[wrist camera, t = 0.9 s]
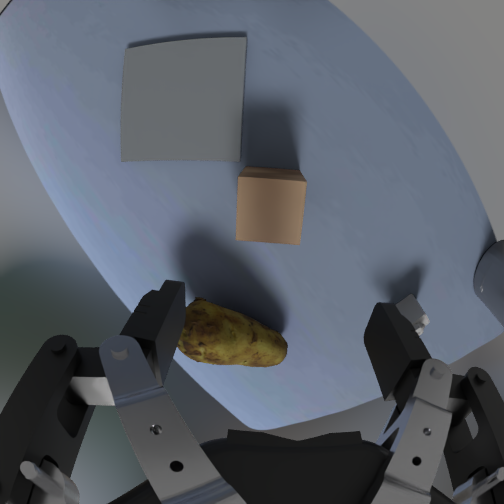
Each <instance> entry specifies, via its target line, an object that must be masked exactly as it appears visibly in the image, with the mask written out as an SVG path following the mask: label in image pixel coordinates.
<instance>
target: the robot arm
mask: <svg viewBox="0 0 504 504" xmlns="http://www.w3.org/2000/svg"><path fill="white" fill-rule="evenodd" d="M474 290H475V293H476V295H477V296H478V297H479V299H480V300H481V301H482V302H483V303H484V304H485V305H486V306H487V308H488V309H489V310H490V311H491V313H492V314H493V315H494V316H495V317H496V318H497V320H498V321H499V322H500V323H501V325H502V326H503V327H504V240H501V241H498V242H496V243H495V244H494V245H492V246H491V247H490V248H489V249H488V250H487V251H486V253H485V254H484V256H483V257H482V259H481V261H480V262H479V265H478V267H477V270H476V273H475V277H474ZM185 317H186V306H185V283H184V282H180V281H172V280H165V282H164V283H163V285H162V287H161V289H160V290H159V291H157V290H151V291H150V292H148V293H147V294H145V295H144V296H143V297H142V299H141V300H140V302H139V303H138V306H137V307H136V308H135V310H134V312H133V313H132V315H131V316H130V318H129V320H128V321H127V323H126V325H125V326H124V328H123V330H122V331H121V333H120V335H117V336H113V337H110V338H108V339H107V340H105V341H104V342H103V343H102V344H101V346H100V347H95V348H90V347H85V348H83V347H78V346H77V343H76V341H75V340H74V339H73V338H72V337H70V336H68V335H57V336H53V337H51V338H49V339H48V340H47V341H46V342H45V343H44V344H43V346H42V347H41V349H40V350H39V352H38V353H37V354H36V356H35V357H34V359H33V361H32V362H31V363H30V365H29V367H28V368H27V370H26V371H25V373H24V374H23V376H22V378H21V379H20V381H19V383H18V384H17V386H16V388H15V389H14V391H13V393H12V394H11V396H10V398H9V400H8V402H7V403H6V405H5V407H4V408H3V411H2V412H1V414H0V504H79V491H78V488H77V486H76V484H75V483H74V482H73V481H72V480H71V479H70V477H71V474H72V470H73V467H74V464H75V461H76V458H77V455H78V452H79V449H80V446H81V444H82V441H83V438H84V435H85V432H86V430H87V427H88V424H89V422H90V419H91V417H92V414H93V411H94V409H95V407H96V405H115V406H116V409H117V412H118V414H119V417H120V419H121V422H122V424H123V427H124V429H125V432H126V434H127V436H128V439H129V441H130V443H131V445H132V447H133V450H134V452H135V454H136V456H137V458H138V460H139V462H140V464H141V466H142V468H143V470H144V472H145V474H146V476H147V478H148V479H147V480H146V481H144V482H143V483H141V484H139V485H138V486H136V487H135V488H133V489H132V490H130V491H128V492H127V493H125V494H123V495H122V496H120V497H118V498H117V499H115V500H113V501H112V502H110V503H108V504H504V402H503V400H502V398H501V396H500V394H499V392H498V390H497V388H496V387H495V385H494V383H493V381H492V379H491V377H490V376H489V374H488V373H487V372H486V371H484V370H483V369H481V368H478V367H472V368H470V369H469V370H468V372H467V373H466V375H465V376H461V375H455V374H452V371H451V369H450V368H449V367H448V365H447V364H445V363H444V362H442V361H440V360H438V359H432V358H431V356H430V354H429V352H428V350H427V349H426V347H425V345H424V343H423V342H422V340H421V338H419V335H418V333H417V332H416V330H415V328H414V326H413V325H412V323H411V322H410V321H409V320H408V319H407V318H406V317H405V316H403V315H401V313H400V312H399V310H398V308H397V307H396V305H395V304H394V303H381V302H378V303H377V304H376V305H375V307H374V309H373V312H372V315H371V317H370V320H369V322H368V325H367V327H366V329H365V333H364V344H365V347H366V350H367V352H368V355H369V358H370V360H371V363H372V366H373V369H374V371H375V374H376V377H377V380H378V383H379V386H380V389H381V392H382V395H383V398H384V401H391V400H396V405H395V406H394V407H393V409H392V411H391V414H390V416H389V418H388V420H387V422H386V424H385V426H384V428H383V430H382V432H381V434H380V436H379V438H378V440H377V441H376V443H373V442H369V441H365V440H362V438H361V434H360V431H356V432H342V433H329V434H325V435H322V436H318V437H314V438H310V439H306V440H301V441H295V440H291V439H286V438H282V437H278V436H274V435H270V434H267V433H263V432H251V431H240V430H230V429H228V435H227V438H220V439H215V440H210V441H207V442H204V443H201V444H198V443H197V441H196V439H195V438H194V436H193V435H192V433H191V432H190V430H189V428H188V427H187V425H186V424H185V422H184V420H183V419H182V417H181V415H180V414H179V412H178V411H177V409H176V407H175V405H174V403H173V402H172V400H171V398H170V396H169V395H168V393H167V391H166V390H165V388H164V387H163V385H164V382H165V379H166V376H167V373H168V370H169V367H170V364H171V362H172V359H173V356H174V353H175V350H176V347H177V345H178V342H179V339H180V336H181V333H182V331H183V328H184V324H185ZM471 412H473V414H474V417H475V419H476V421H477V424H478V428H479V429H478V434H477V436H476V437H475V438H474V439H473V438H472V436H471V433H470V431H469V427H468V425H467V422H466V420H465V418H466V417H467V416H468V415H469V414H470V413H471ZM443 452H444V455H445V459H446V463H447V466H448V470H449V474H450V478H451V482H452V487H453V491H454V494H453V499H452V500H451V499H449V498H448V497H447V496H445V495H444V494H443V493H441V492H440V491H439V490H437V489H436V488H435V487H433V486H432V483H433V481H434V478H435V475H436V472H437V469H438V466H439V463H440V460H441V456H442V453H443Z"/></svg>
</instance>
